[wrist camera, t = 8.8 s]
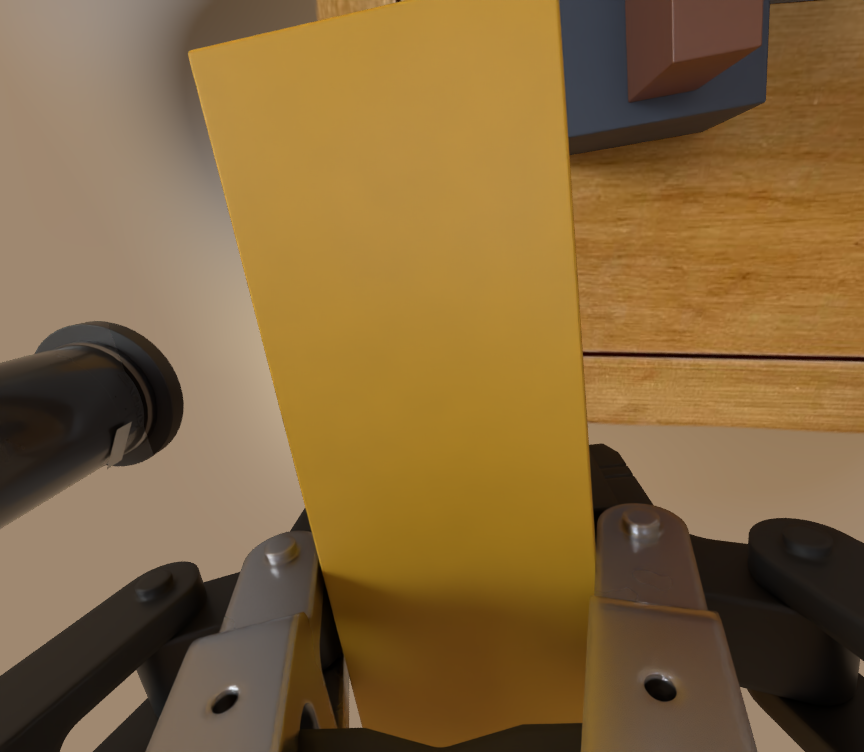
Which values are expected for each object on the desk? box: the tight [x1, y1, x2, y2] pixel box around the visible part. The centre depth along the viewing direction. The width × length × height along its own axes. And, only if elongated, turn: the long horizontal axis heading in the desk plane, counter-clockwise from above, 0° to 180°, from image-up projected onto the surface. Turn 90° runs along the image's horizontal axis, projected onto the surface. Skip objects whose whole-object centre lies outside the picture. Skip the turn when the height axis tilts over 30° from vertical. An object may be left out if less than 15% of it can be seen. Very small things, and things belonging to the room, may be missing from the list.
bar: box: [188, 0, 596, 747], centre depth 9 cm, size 4×16×4 cm, turn 9°
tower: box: [559, 0, 770, 155], centre depth 21 cm, size 9×9×11 cm
